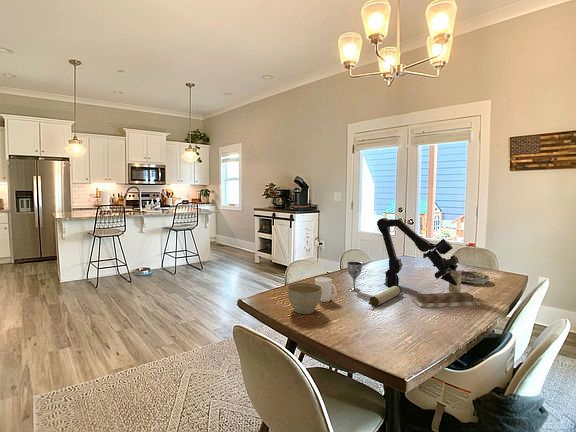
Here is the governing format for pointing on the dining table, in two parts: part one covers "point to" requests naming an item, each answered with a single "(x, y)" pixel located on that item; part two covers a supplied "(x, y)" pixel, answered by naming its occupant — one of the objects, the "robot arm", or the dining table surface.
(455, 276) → the ash post
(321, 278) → the mug
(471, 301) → the ridge stand
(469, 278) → the pie
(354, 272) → the wine glass
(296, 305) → the planter bowl
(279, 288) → the dining table surface
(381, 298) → the rolling pin
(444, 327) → the dining table surface
